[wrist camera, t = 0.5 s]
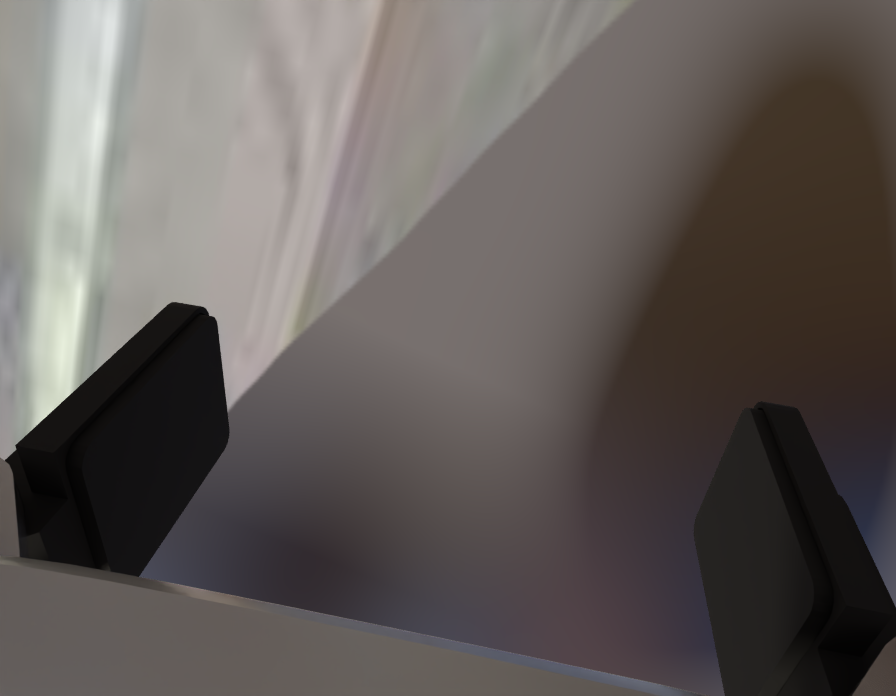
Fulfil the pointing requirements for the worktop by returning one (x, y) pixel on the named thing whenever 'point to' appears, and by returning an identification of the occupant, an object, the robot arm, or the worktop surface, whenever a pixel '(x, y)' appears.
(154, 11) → the worktop surface
